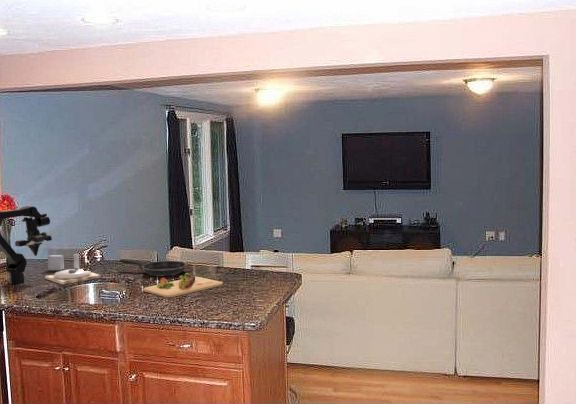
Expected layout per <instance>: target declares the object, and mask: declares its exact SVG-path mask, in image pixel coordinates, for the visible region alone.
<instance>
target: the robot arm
mask: <svg viewBox="0 0 576 404" xmlns="http://www.w3.org/2000/svg"><path fill="white" fill-rule="evenodd" d="M17 217H23V219H22V220H21V222H22V223H23V222H24V223H25V233H26V236H27V237H26V239H25V240H24V239H18V240H16V241H15V242H14V245H15V247H24V246H25V247H26V246H27V247H28V248H29V249H30V251H31V253H32V254H33V255H34V256H35V257H36V256H37V255H38V253H39V249H40V246H41V245H42V244H43V242H44V241H46V242H49V241H52V240H53V239H52V235H50V234H49V235H48V234H47V232H46V231H43V232H40V229H38V228H39V227H45V226H49V225H50V224H51V219H50V217H49V216H48V214H47V213H42V214H41V213H40V211H38V209H37V207H36V206H31V205H24V206H22V207H20V208H18V209H10V210H3V211H2V210H1V211H0V227H1V226H2V223H3V221H4V219H10V218H17ZM0 250H1V251H2V252H3V253H4V255H5V257H7V261H8V265H7V267H6V268H5V270H6V273H8V279H9V281H8V284H11V285H18V284H23V283H24V284H25V274H24V272H25V270H26V266H27V263H28V262H27V258H26V257H25V256H24V254H23V253H19V252H16V250H14V249H13V247H12V246H11V245H10V243H8V241H7V240H6V239H5V237H4V236H3V234H2V232H1V230H0Z"/></svg>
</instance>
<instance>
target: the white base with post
mask: <svg viewBox="0 0 576 404" xmlns="http://www.w3.org/2000/svg"><path fill="white" fill-rule="evenodd" d="M79 255H80V254H78V253H74V254H73V255H72V257H73V269H71V268H70V269H63V270H58V271H56V272H55V273H54V275H55V278H59V279H72V278H80V277H85V276H88V275H90V274H91V272H92V271H91V270H90V271H84V270H83V269H84V268H80V256H79Z"/></svg>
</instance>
